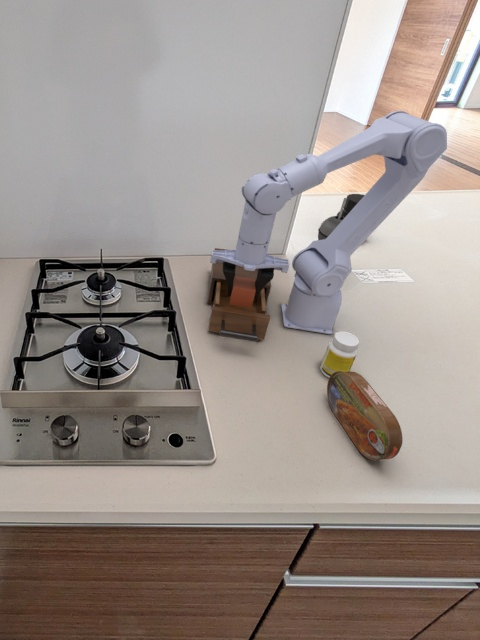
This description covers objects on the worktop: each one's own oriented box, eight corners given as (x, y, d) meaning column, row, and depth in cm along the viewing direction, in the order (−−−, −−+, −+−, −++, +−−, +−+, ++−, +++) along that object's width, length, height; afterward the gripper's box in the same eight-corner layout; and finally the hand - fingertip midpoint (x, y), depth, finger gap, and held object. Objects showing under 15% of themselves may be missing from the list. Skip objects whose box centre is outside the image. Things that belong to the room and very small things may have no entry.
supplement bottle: (350, 383, 80) (365, 349, 75) (322, 379, 81) (336, 345, 76) (343, 364, 84) (357, 331, 79) (317, 361, 85) (329, 328, 80)
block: (251, 295, 92) (255, 278, 90) (251, 308, 89) (255, 290, 86) (229, 292, 93) (233, 275, 91) (229, 304, 90) (232, 287, 87)
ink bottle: (326, 239, 125) (339, 200, 119) (331, 226, 131) (343, 189, 125) (364, 247, 121) (379, 208, 114) (367, 234, 127) (381, 196, 120)
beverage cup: (305, 277, 109) (328, 203, 98) (306, 262, 115) (327, 191, 104) (338, 283, 107) (365, 208, 96) (336, 268, 112) (362, 196, 101)
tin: (320, 394, 78) (334, 360, 73) (337, 393, 78) (352, 359, 73) (372, 472, 65) (393, 437, 61) (392, 470, 66) (414, 435, 61)
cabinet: (264, 312, 97) (271, 285, 93) (207, 304, 100) (212, 277, 96) (261, 279, 108) (267, 254, 104) (210, 273, 111) (214, 247, 107)
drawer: (265, 355, 85) (271, 333, 82) (206, 345, 88) (210, 323, 84) (261, 304, 99) (266, 283, 95) (211, 296, 101) (214, 276, 98)
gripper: (214, 242, 81) (204, 300, 89) (296, 252, 78) (279, 312, 85) (215, 225, 87) (206, 281, 94) (293, 234, 84) (277, 291, 91)
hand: (241, 294), depth 90 cm, fingers closed on block, 4 cm apart
